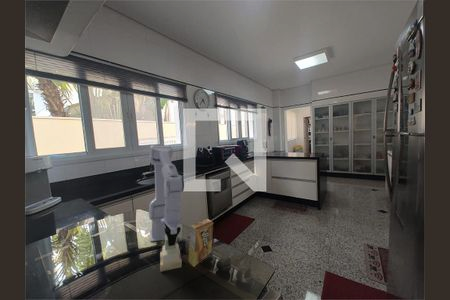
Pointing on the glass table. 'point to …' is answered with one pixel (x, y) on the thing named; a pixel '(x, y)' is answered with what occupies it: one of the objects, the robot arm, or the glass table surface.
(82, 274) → the glass table surface
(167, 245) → the block
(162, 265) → the slab bottom
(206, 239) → the candy box
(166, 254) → the slab top
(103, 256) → the glass table surface
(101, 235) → the glass table surface
